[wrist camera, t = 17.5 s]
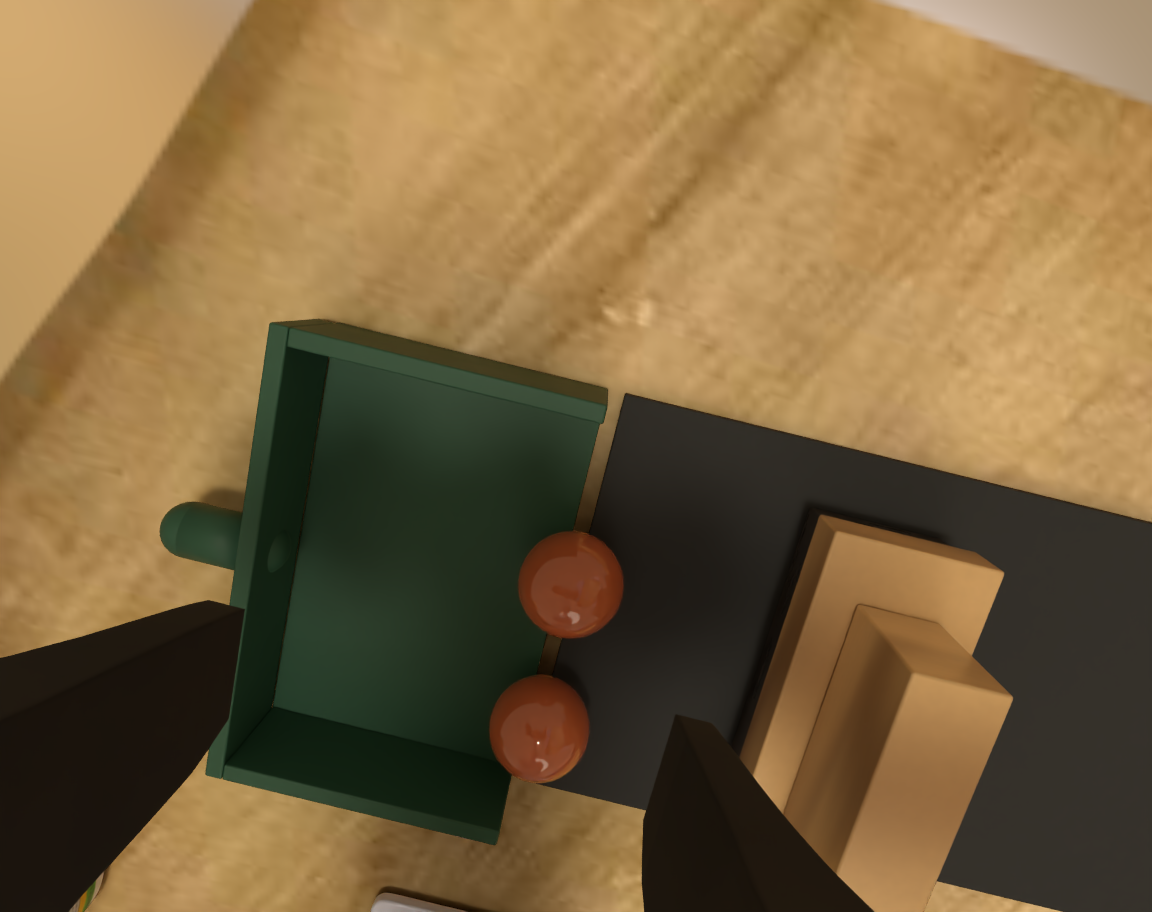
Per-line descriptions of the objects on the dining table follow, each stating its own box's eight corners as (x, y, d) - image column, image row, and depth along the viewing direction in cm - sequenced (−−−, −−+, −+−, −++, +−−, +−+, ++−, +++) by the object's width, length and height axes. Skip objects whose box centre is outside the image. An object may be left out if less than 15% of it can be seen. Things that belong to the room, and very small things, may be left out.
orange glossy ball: (538, 497, 21) (637, 524, 20) (550, 559, 23) (640, 586, 22) (489, 581, 19) (596, 616, 18) (508, 639, 21) (604, 673, 20)
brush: (839, 832, 23) (924, 1033, 17) (706, 800, 23) (742, 988, 17) (951, 534, 21) (1099, 636, 15) (804, 498, 21) (888, 585, 15)
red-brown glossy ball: (534, 822, 19) (466, 769, 21) (608, 775, 22) (539, 731, 24) (539, 722, 19) (468, 678, 21) (614, 683, 21) (543, 646, 23)
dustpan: (608, 388, 21) (607, 405, 18) (512, 772, 24) (495, 846, 20) (227, 294, 21) (156, 294, 18) (176, 690, 24) (107, 752, 20)
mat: (1305, 964, 24) (1314, 973, 23) (526, 775, 24) (525, 781, 23) (1510, 610, 21) (1522, 615, 21) (625, 392, 21) (625, 394, 20)
